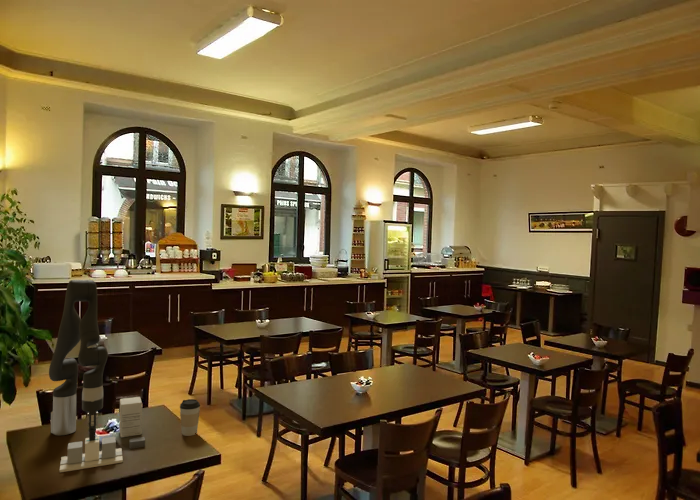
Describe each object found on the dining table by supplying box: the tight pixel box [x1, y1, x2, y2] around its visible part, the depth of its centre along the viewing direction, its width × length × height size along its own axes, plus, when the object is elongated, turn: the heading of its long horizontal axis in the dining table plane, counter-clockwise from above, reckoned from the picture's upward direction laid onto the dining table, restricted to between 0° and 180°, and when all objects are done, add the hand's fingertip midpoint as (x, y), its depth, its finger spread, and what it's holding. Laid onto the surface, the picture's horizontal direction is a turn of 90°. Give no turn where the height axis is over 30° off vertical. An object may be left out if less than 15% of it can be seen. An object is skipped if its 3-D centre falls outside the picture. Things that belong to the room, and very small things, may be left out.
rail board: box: [59, 436, 124, 473], centre depth 203 cm, size 22×12×7 cm, turn 116°
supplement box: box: [119, 396, 143, 438], centre depth 232 cm, size 9×9×15 cm
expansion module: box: [84, 436, 100, 461], centre depth 203 cm, size 5×6×7 cm
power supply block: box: [128, 436, 146, 449], centre depth 219 cm, size 6×4×3 cm, turn 115°
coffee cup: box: [179, 398, 201, 437], centre depth 234 cm, size 9×9×15 cm
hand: (92, 439), depth 203 cm, fingers closed
